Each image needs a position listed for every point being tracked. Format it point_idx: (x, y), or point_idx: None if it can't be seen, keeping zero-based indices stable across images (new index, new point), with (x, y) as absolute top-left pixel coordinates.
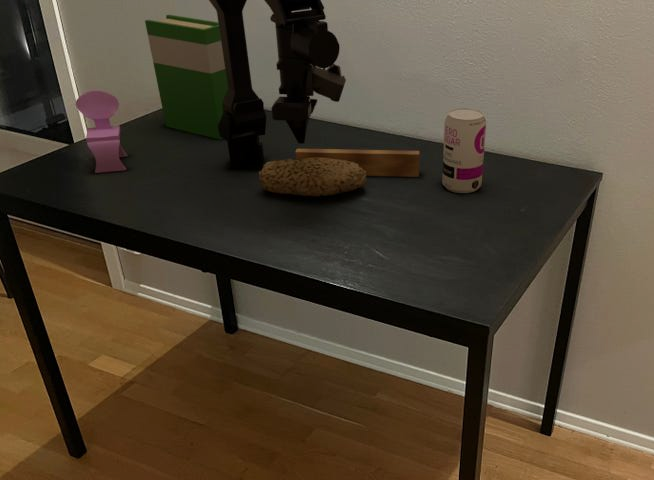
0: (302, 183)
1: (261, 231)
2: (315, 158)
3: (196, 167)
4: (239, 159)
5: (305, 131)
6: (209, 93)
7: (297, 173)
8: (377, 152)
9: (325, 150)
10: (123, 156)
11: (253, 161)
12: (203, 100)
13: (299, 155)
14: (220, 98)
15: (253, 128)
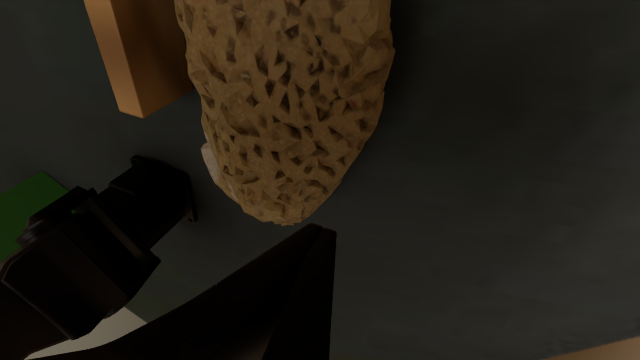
0: (360, 120)
1: (564, 231)
2: (211, 71)
3: (202, 260)
4: (177, 214)
5: (312, 288)
6: None
7: (323, 144)
8: None
9: (97, 12)
10: None
11: (169, 186)
12: None
13: (149, 102)
14: (4, 248)
15: (106, 237)
